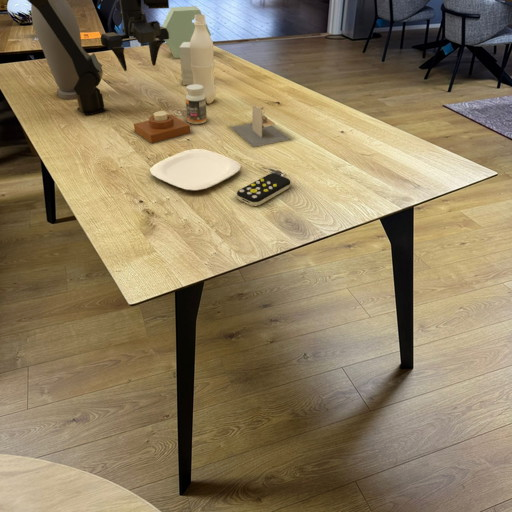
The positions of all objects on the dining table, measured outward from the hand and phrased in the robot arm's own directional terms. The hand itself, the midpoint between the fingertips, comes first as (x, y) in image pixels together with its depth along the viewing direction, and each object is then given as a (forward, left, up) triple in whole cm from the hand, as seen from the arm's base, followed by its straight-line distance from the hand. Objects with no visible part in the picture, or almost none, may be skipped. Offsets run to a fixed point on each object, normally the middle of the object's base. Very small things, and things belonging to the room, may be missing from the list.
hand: (139, 68), depth 140 cm
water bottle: (+18, -6, -12) cm, 23 cm away
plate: (-11, -47, -12) cm, 50 cm away
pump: (-5, -20, -8) cm, 22 cm away
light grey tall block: (+26, +13, -12) cm, 32 cm away
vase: (-13, +27, -12) cm, 32 cm away
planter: (+43, +46, -12) cm, 64 cm away
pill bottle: (+7, -19, -12) cm, 23 cm away
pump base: (-5, -20, -12) cm, 24 cm away
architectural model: (+16, -37, -12) cm, 42 cm away
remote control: (-4, -64, -12) cm, 65 cm away
